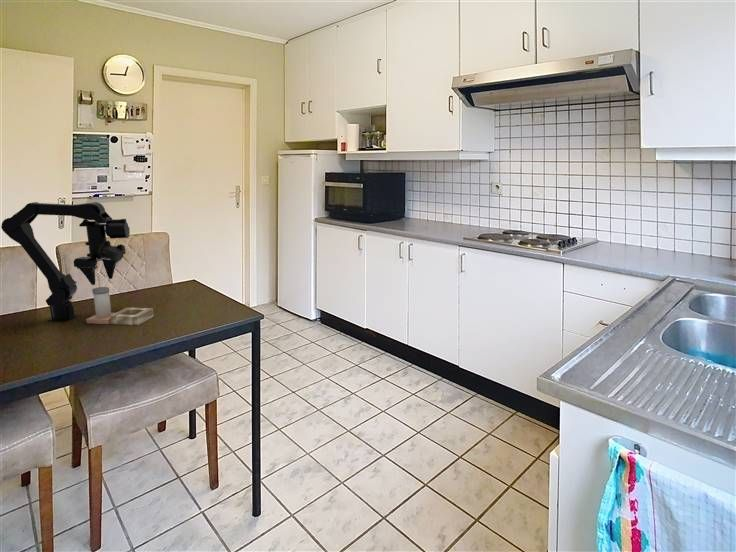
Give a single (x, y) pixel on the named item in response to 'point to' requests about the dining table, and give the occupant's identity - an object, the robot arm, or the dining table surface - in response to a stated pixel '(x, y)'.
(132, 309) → the beige square frame
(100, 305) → the plug
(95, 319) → the tile
